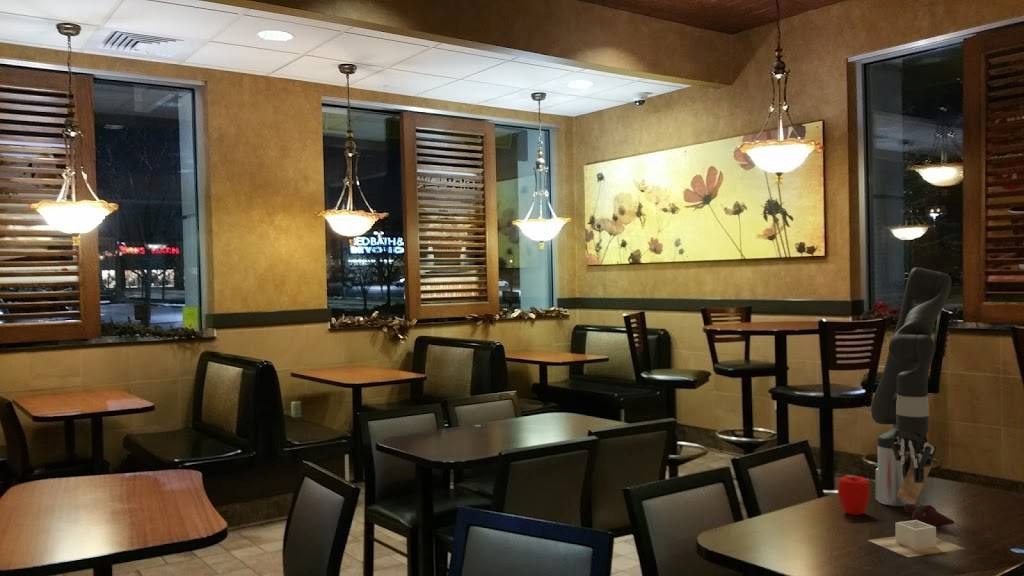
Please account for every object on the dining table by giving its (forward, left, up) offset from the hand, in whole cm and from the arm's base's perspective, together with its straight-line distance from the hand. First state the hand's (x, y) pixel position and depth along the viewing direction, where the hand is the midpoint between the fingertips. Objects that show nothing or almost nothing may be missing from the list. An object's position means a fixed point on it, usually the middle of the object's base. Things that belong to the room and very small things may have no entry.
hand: (912, 480), depth 215 cm
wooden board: (0, 0, -17) cm, 17 cm away
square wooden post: (0, -2, -5) cm, 5 cm away
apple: (-31, +7, -18) cm, 36 cm away
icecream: (-11, +15, -18) cm, 26 cm away
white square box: (0, 0, -16) cm, 16 cm away
